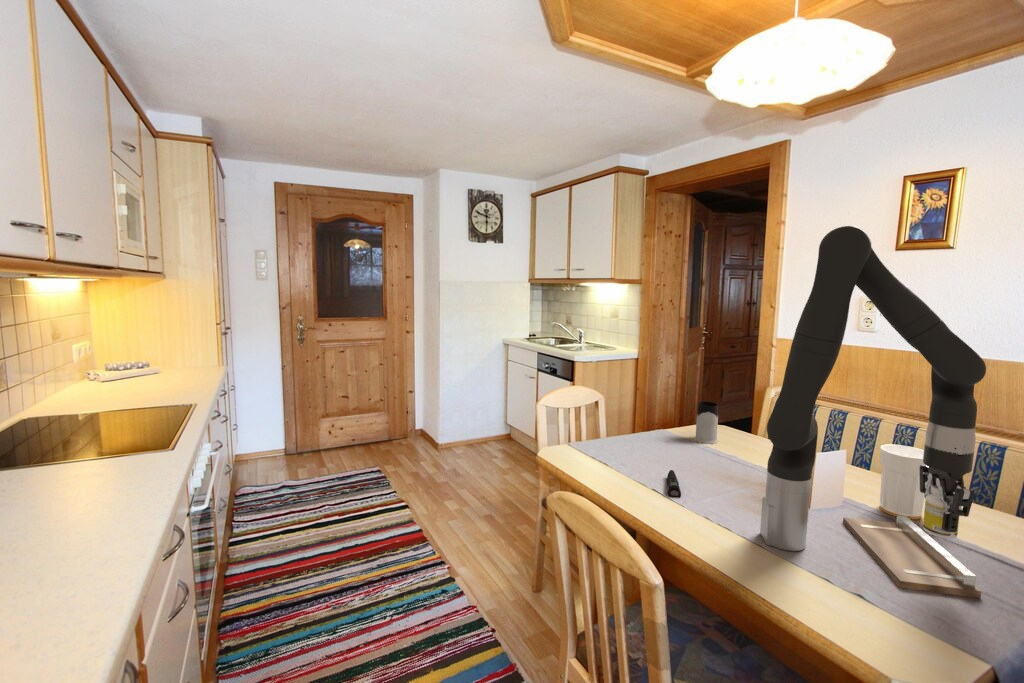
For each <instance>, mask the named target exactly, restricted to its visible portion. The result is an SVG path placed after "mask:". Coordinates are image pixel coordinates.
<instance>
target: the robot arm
mask: <svg viewBox="0 0 1024 683" xmlns="http://www.w3.org/2000/svg"><path fill="white" fill-rule="evenodd" d="M818 246H819V248H818V257H817V264H816V268H815V269H816V270H815V275H814V281H813V286H812V288H811V292H810V294H809V297H808V298H807V301H806V303H805V305H804V307H803V310H802V312H801V314H800V317H799V320H798V323H797V325H796V329H795V332H794V335H793V339H792V341H791V342H792V343H791V345H790V349H789V355H788V357H787V362H786V366H785V372H784V374H783V381H782V385H781V388H780V392H779V393H778V394H779V395H778V397H777V400H776V402H775V405H774V407H773V408H772V409H773V410H772V412H771V413H770V415H769V418H768V421H767V424H766V432H767V433H766V434H767V437H768V439H769V441H770V442H771V444H772V449H771V452H770V456H769V457H768V460H767V468H766V469H767V470H766V483H765V496H763V497H762V501H761V502H762V503H761V513H760V514H761V518H760V529H759V530H760V532H759V533H760V536H762V539H763V541H764V542H765V545H768V546H772V547H775V548H778V549H779V550H784V551H789V552H797V551H803V550H804V549H805V548H806V546H807V539H808V538H807V534H808V521H809V510H810V509H809V508H810V499H811V498H810V496H811V489H812V488H811V485H812V475H813V474H812V473H813V468H814V466H815V462H816V454H817V445H818V434H819V424H818V421H817V419H816V417H815V416H814V410H815V405H816V403H817V400H818V396H819V394H820V393H821V391H822V388H823V387H824V385H825V384H826V382H827V380H828V378H829V376H830V375H831V372H832V370H833V369H834V366H835V364H836V362H837V360H838V357H839V354H840V350H841V348H842V344H843V341H844V337H845V334H846V333H845V332H846V328H847V325H848V317H849V312H850V303H851V299H852V295H853V291H854V289H855V287H857V288H858V289H859V290H860V291H861V292H862V293H863V294H864V295H865V296H866V297H867V298H868V300H870V301H871V304H873V305H874V307H875V308H876V309H877V311H878V312H879V313H880V314H881V316H883V318H884V319H885V321H887V323H888V324H890V325H891V327H892V328H893V329H894V330H895V331H896V332H897V333H898V334H899V336H901V337H902V338H903V339H904V341H905V342H907V343H908V344H909V345H910V346H911V347H912V348H914V349H915V350H917V352H919V354H921V356H922V357H923V358H924V359H925V361H927V362H928V363H929V364H930V366H931V370H930V371H931V372H930V380H931V382H930V384H931V385H930V386H931V402H930V407H929V416H928V423H927V426H926V430H925V438H924V439H925V440H924V446H923V450H924V455H923V463H924V464H925V465H920V492H921V493H924V500H926V496H927V495H929V494H932V493H931V485H935V486H936V487H938V489H939V497H940V500H941V501H942V502H943V505H944V512H945V513H944V514H943V523H942V529H943V530H944V531H946V532H957V527H958V528H959V525H958V518H959V519H960V517H969V515H970V513H971V512H970V511H971V509H972V504H973V502H974V501H973V500H974V497H975V490H974V489H971V488H970V489H969V488H967V487H966V486H965V481H964V476H965V475H966V474H970V473H971V472H972V470H973V464H974V455H975V449H976V448H975V447H976V438H977V437H976V426H977V425H976V424H977V415H978V403H977V401H976V399H975V396H974V394H975V393H974V391H975V385H976V384H978V383H979V382H981V381H983V379H984V378H985V376H986V374H987V367H986V366H987V365H986V363H985V361H984V359H983V358H982V357H981V356H980V355H979V354H978V353H977V352H976V351H975V350H974V349H973V348H972V347H970V346H969V344H968V343H966V342H965V341H964V340H963V339H962V338H960V337H959V336H958V335H957V334H955V333H954V332H953V331H952V330H951V329H950V328H949V327H948V325H947V324H946V323H945V322H944V321H943V320H942V318H940V317H939V315H937V313H936V312H935V311H934V310H932V308H931V307H929V305H928V304H927V303H926V302H925V301H923V300H922V299H921V298H920V297H919V296H918V295H917V294H916V293H915V292H913V290H911V289H910V288H908V286H906V285H905V284H904V283H902V282H901V281H900V280H899V279H898V278H897V277H896V276H895V275H894V274H893V273H892V272H891V271H890V270H889V269H888V267H887V266H885V264H884V263H883V262H882V261H881V259H880V258H879V256H878V255H877V253H876V251H875V250H874V248H873V246H872V241H871V238H870V236H869V235H868V233H867V232H866V231H864V230H863V229H862V228H860V227H857V226H853V225H844V226H838V227H837V228H836V227H835V229H832V230H830V231H829V232H828V233H826V235H825V236H823V238H822V239H821V241H820V242H819V245H818ZM926 482H927V483H926ZM925 483H926V485H925ZM946 496H954V498H953V499H952V498H947V497H946ZM950 502H952V505H951V508H950Z"/></svg>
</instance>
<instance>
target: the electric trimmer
mask: <svg viewBox="0 0 1024 683" xmlns="http://www.w3.org/2000/svg"><path fill="white" fill-rule="evenodd" d="M666 485H667V486H668V488H667V495H669V496H668V497H670V498H673V497H679V498H678V499H680V498H681V497H682V491H681V488H680V484H679V481H678V478H677V476H676V473H675V471H674V470H673V469H670V470H669V471H668V473H667V476H666Z"/></svg>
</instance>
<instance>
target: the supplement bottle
mask: <svg viewBox="0 0 1024 683" xmlns="http://www.w3.org/2000/svg"><path fill="white" fill-rule="evenodd" d="M931 493H932V494H929V495H927V496H926V499H924V501H925V502H924V514H923V523H922V524H923V525H922V527H923V531H924V532H925V533H927V534H929V535H933V536H935V537H938V538H941V539H956V538H957V537H958V534H959V523H960V517H959V518H958V527H957V532H946V531H944V530H943V529H942V523H943V514H944V513H945V512H944V505H943V502H942V501H941V500H940V497H939V489H938V487H936V486H935V485H931ZM946 497H947V498H952V499H953V498H954V496H946ZM951 505H952V502H950V508H951Z"/></svg>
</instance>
